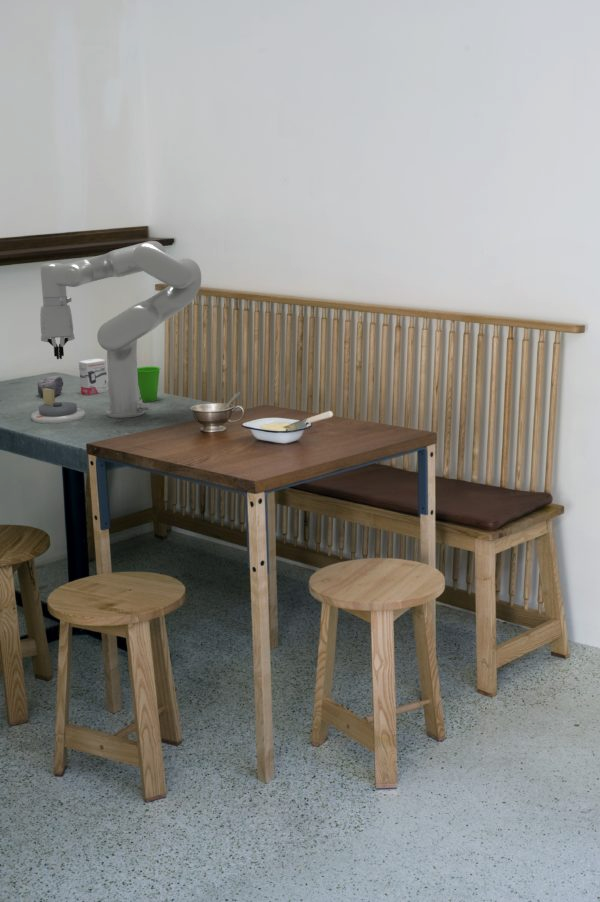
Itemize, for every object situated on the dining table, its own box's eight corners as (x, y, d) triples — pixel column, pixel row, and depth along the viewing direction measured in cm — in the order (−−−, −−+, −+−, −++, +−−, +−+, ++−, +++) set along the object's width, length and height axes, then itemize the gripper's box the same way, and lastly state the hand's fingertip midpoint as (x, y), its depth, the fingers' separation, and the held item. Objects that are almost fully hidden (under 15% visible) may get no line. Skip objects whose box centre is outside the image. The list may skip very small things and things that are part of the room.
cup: (167, 398, 381) (165, 367, 379) (150, 403, 374) (148, 372, 371) (147, 396, 386) (145, 365, 383) (130, 401, 379) (128, 369, 376)
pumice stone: (33, 403, 391) (52, 398, 385) (26, 382, 390) (45, 377, 384) (53, 397, 399) (72, 392, 393) (47, 377, 398) (66, 371, 392)
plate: (94, 412, 363) (93, 407, 362) (70, 424, 347) (69, 418, 347) (47, 410, 367) (47, 405, 367) (22, 422, 352) (21, 416, 351)
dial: (84, 410, 357) (82, 389, 356) (54, 417, 349) (52, 396, 347) (60, 406, 365) (58, 385, 363) (30, 412, 356) (28, 391, 355)
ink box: (88, 395, 391) (86, 362, 388) (80, 393, 394) (78, 361, 391) (108, 391, 396) (106, 359, 393) (100, 390, 400) (98, 358, 397)
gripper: (78, 299, 358) (81, 355, 362) (30, 301, 354) (35, 358, 359) (79, 302, 351) (83, 359, 355) (31, 304, 347) (36, 361, 352)
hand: (59, 358), depth 357 cm, fingers closed
